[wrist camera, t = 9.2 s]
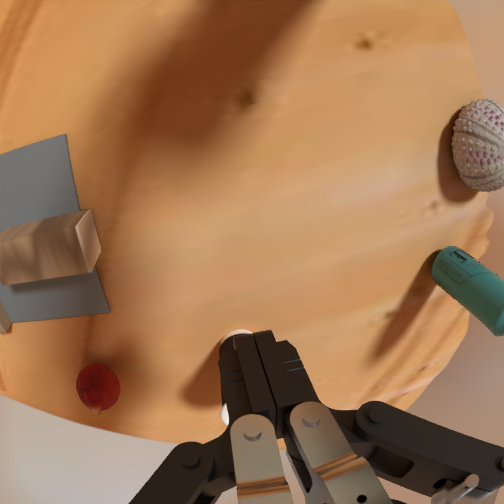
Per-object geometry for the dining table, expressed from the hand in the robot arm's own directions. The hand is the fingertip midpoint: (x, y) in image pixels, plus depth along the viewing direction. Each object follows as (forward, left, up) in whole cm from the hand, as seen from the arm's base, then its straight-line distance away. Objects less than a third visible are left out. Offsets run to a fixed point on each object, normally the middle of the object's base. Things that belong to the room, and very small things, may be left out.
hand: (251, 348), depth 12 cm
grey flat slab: (+1, -20, -20) cm, 29 cm away
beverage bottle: (+12, +33, -21) cm, 41 cm away
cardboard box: (+1, -11, -18) cm, 21 cm away
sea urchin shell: (-6, +37, -21) cm, 43 cm away
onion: (+20, -17, -21) cm, 34 cm away
